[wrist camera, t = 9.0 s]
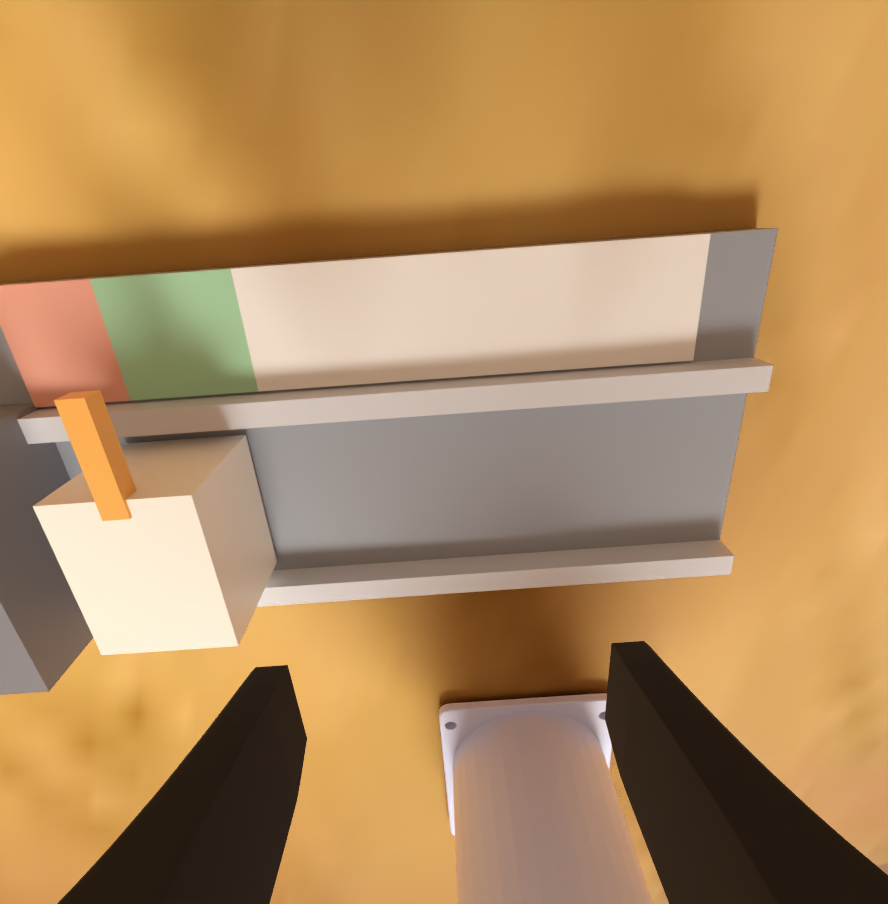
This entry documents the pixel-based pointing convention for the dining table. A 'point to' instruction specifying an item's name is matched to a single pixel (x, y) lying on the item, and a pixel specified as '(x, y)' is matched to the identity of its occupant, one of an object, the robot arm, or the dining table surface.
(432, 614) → the dining table surface
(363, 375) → the gauge board
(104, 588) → the gauge slider
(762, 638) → the dining table surface
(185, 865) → the robot arm
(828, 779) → the dining table surface
